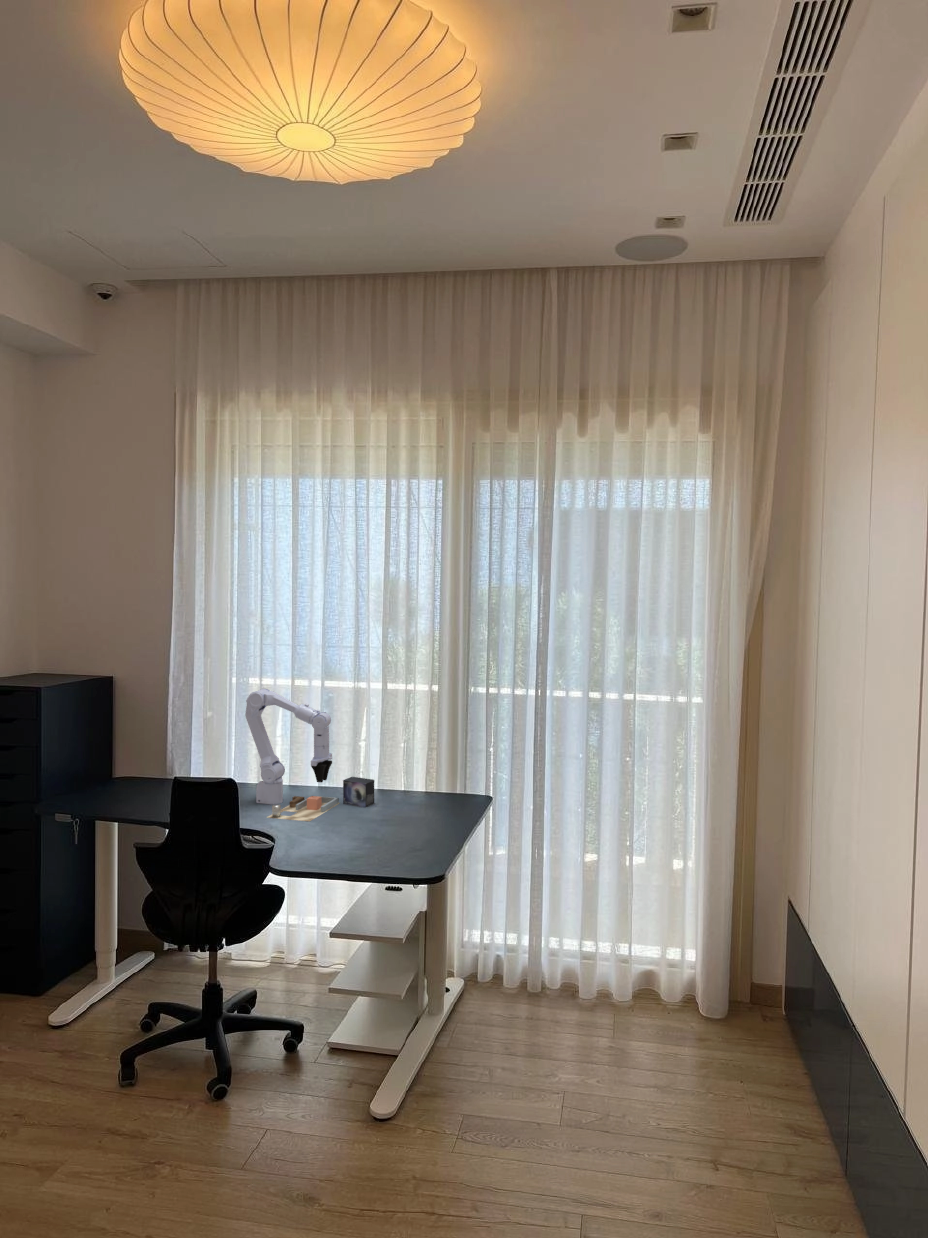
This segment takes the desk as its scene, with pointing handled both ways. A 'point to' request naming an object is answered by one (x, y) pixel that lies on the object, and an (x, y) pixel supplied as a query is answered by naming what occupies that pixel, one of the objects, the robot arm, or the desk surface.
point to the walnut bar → (296, 801)
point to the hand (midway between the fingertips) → (321, 781)
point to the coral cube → (314, 803)
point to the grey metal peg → (276, 811)
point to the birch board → (301, 813)
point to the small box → (358, 791)
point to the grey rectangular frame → (328, 800)
